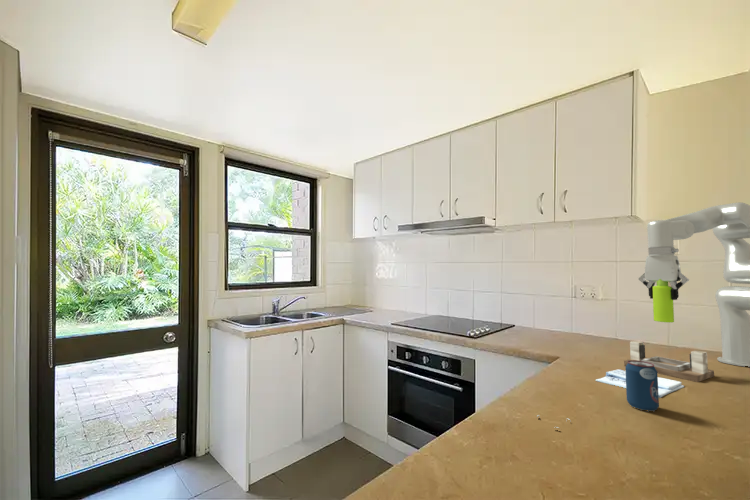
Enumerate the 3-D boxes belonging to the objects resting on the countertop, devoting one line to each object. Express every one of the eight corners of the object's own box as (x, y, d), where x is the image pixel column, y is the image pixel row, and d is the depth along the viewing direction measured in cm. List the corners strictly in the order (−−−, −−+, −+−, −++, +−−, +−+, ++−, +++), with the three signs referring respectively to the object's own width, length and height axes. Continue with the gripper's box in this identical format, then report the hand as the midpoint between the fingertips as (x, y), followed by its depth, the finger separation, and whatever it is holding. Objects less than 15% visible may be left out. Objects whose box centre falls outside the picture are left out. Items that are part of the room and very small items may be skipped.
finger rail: (642, 361, 139) (641, 339, 139) (714, 376, 119) (712, 350, 120) (624, 365, 132) (623, 342, 133) (697, 382, 113) (696, 355, 113)
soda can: (661, 414, 86) (659, 367, 87) (628, 408, 90) (626, 363, 91) (656, 405, 92) (654, 361, 93) (625, 400, 96) (623, 358, 97)
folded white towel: (685, 388, 108) (685, 381, 108) (659, 400, 98) (659, 392, 98) (618, 373, 125) (618, 367, 125) (590, 381, 114) (590, 375, 114)
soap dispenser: (681, 322, 123) (679, 269, 124) (659, 322, 125) (657, 269, 126) (670, 320, 129) (668, 268, 130) (650, 319, 130) (648, 268, 131)
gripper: (694, 251, 123) (697, 300, 122) (639, 253, 138) (641, 297, 137) (685, 250, 119) (688, 301, 118) (630, 253, 135) (632, 297, 133)
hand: (663, 298), depth 128 cm, fingers closed on soap dispenser, 6 cm apart
